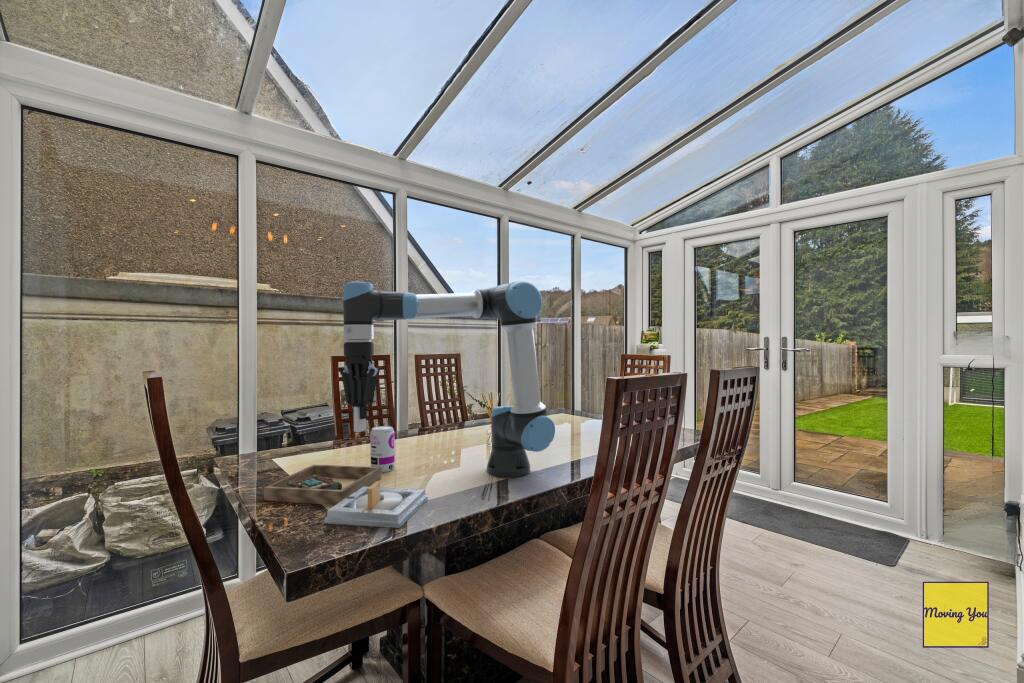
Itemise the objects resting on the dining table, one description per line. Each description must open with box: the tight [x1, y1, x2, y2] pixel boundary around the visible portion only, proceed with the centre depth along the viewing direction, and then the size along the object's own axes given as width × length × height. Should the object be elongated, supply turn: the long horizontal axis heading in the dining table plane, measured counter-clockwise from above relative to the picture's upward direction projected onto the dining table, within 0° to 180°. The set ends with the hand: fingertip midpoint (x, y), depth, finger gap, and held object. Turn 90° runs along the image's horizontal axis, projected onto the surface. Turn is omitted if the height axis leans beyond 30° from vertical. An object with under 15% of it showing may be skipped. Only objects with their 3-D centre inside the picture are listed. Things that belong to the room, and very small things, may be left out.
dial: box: [356, 480, 402, 510], centre depth 124 cm, size 13×12×7 cm
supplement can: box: [369, 425, 396, 473], centre depth 163 cm, size 8×8×15 cm
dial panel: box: [323, 486, 429, 529], centre depth 125 cm, size 20×20×3 cm
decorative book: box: [287, 475, 343, 490], centre depth 140 cm, size 13×18×5 cm
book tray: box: [263, 463, 383, 506], centre depth 142 cm, size 24×24×4 cm
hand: (359, 430), depth 121 cm, fingers closed
